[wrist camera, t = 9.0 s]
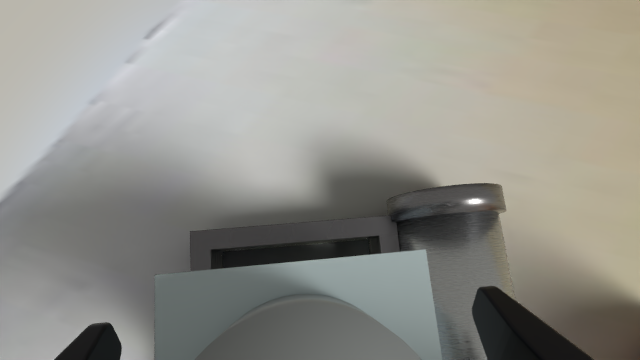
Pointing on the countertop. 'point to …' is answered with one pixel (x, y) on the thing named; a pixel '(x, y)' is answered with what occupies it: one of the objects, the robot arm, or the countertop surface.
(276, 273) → the grey capped bottle
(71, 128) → the countertop surface
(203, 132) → the countertop surface
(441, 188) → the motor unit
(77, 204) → the countertop surface
